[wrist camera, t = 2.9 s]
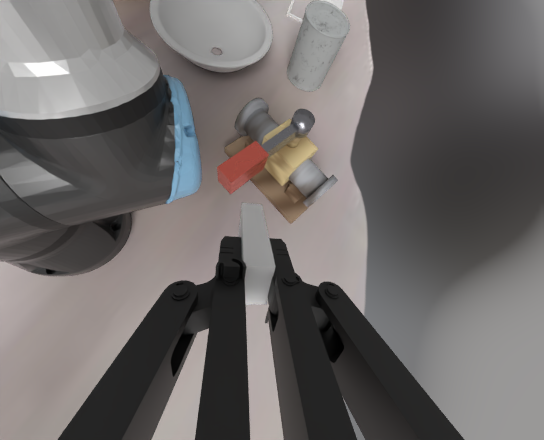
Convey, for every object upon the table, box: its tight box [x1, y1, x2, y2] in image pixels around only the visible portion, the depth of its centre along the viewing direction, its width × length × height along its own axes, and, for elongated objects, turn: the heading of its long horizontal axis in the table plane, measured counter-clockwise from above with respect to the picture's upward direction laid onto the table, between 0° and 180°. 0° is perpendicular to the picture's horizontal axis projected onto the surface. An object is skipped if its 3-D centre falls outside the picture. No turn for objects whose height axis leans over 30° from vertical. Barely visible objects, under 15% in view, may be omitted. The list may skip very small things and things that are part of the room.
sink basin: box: [150, 0, 273, 72], centre depth 43 cm, size 24×24×7 cm
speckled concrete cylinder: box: [287, 0, 350, 92], centre depth 45 cm, size 10×10×12 cm
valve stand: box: [225, 98, 338, 224], centre depth 36 cm, size 20×11×13 cm, turn 43°
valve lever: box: [217, 109, 315, 194], centre depth 27 cm, size 3×16×4 cm, turn 134°
